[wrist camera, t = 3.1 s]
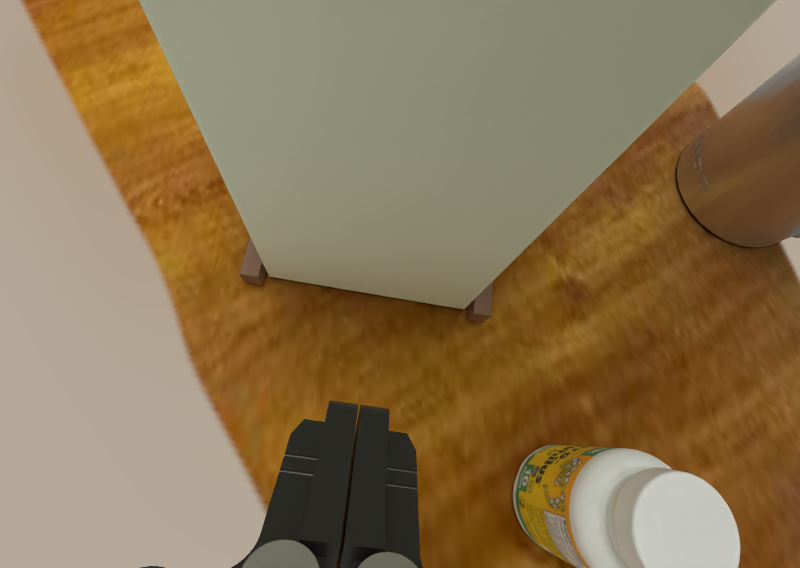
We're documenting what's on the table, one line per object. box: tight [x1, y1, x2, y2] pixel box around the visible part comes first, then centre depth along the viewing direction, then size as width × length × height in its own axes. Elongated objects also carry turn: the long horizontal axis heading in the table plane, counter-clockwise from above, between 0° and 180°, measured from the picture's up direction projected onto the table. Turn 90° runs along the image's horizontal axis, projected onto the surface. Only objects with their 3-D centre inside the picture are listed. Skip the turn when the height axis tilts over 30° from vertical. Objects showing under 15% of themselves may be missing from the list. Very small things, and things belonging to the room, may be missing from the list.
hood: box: [139, 0, 776, 309], centre depth 16 cm, size 12×10×24 cm
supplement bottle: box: [513, 445, 740, 568], centre depth 20 cm, size 5×5×10 cm
